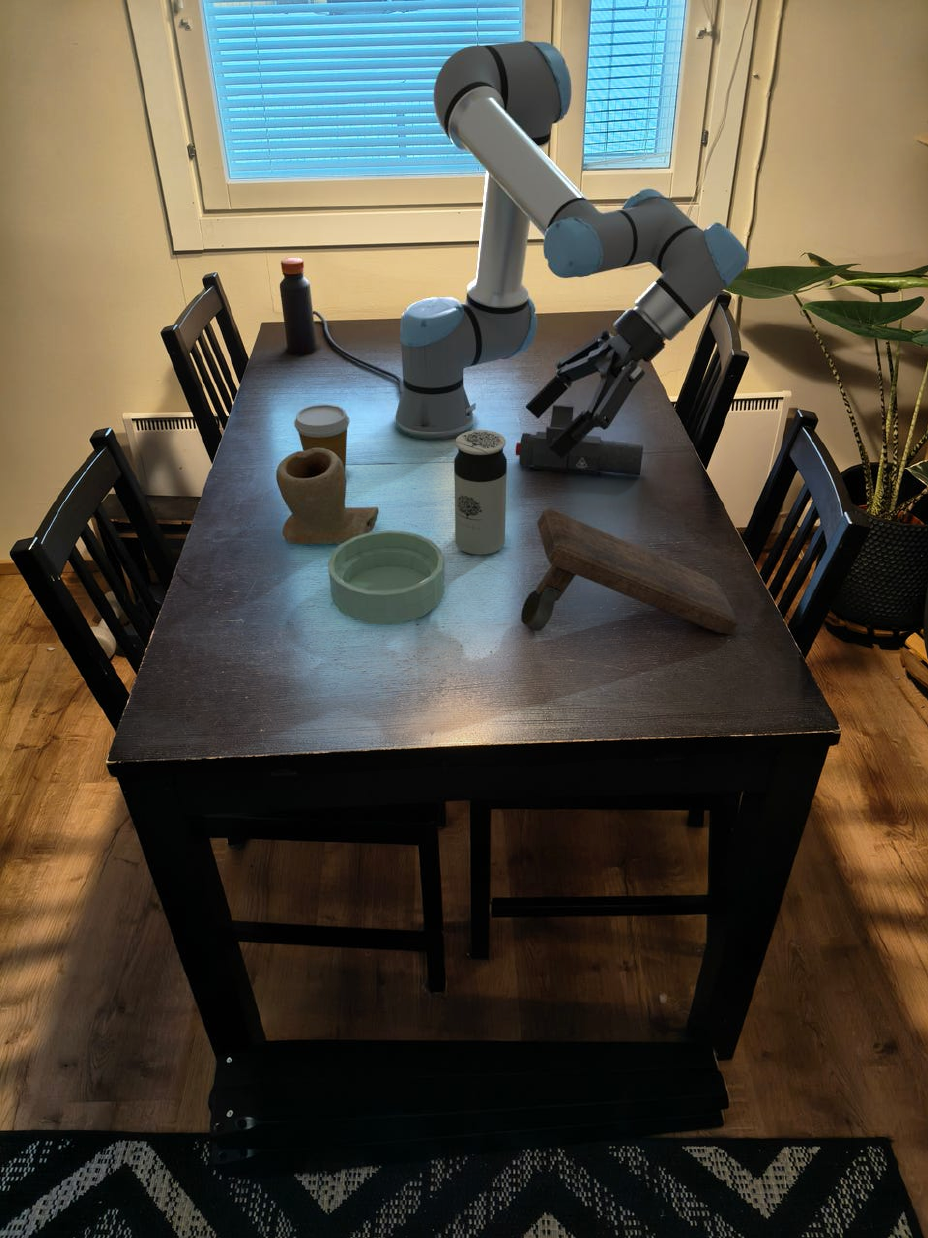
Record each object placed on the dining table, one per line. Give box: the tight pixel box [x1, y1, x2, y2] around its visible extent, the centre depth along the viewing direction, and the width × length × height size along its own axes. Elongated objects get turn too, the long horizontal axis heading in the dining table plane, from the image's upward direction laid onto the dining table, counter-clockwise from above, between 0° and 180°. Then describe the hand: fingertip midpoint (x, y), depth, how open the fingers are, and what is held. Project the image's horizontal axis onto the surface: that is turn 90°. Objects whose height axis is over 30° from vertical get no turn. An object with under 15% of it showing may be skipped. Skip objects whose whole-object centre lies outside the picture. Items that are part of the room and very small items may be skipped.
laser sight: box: [515, 404, 644, 476], centre depth 163 cm, size 10×22×10 cm, turn 79°
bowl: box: [327, 529, 446, 626], centre depth 134 cm, size 17×17×6 cm
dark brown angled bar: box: [520, 507, 739, 635], centre depth 128 cm, size 10×16×30 cm
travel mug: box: [453, 429, 508, 556], centre depth 141 cm, size 8×8×18 cm
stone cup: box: [275, 448, 380, 546], centre depth 144 cm, size 15×12×15 cm
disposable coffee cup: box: [293, 403, 351, 471], centre depth 161 cm, size 10×10×12 cm
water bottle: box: [279, 257, 318, 355], centre depth 208 cm, size 7×7×20 cm
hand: (542, 431), depth 137 cm, fingers open, 13 cm apart
